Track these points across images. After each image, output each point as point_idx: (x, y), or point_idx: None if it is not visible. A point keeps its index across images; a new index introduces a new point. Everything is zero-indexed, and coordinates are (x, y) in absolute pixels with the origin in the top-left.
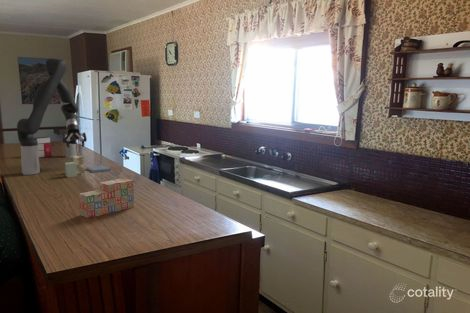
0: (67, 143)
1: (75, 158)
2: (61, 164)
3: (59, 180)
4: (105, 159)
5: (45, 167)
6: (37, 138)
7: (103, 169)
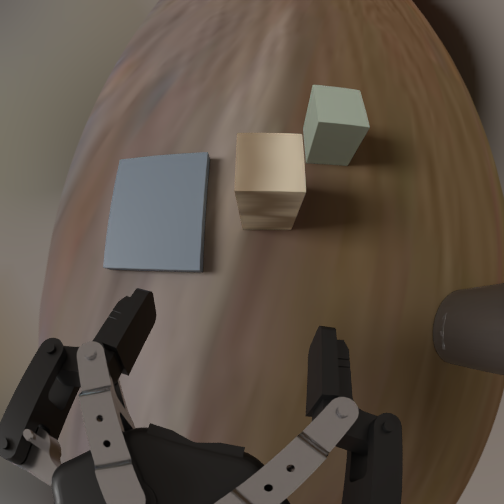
0: (335, 370)
1: (301, 137)
2: None
3: (376, 108)
4: None
5: None
6: None
7: (153, 156)
